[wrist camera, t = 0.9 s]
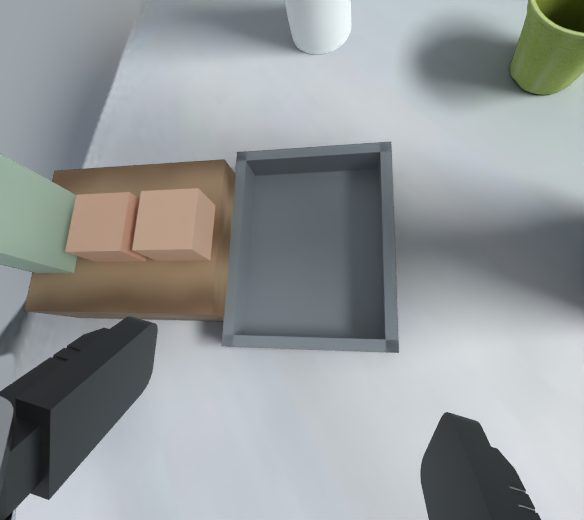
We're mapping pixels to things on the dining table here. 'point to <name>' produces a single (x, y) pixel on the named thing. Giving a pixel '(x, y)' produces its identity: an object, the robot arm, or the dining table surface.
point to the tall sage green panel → (34, 221)
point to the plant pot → (550, 46)
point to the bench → (151, 274)
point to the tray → (313, 250)
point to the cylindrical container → (319, 24)
